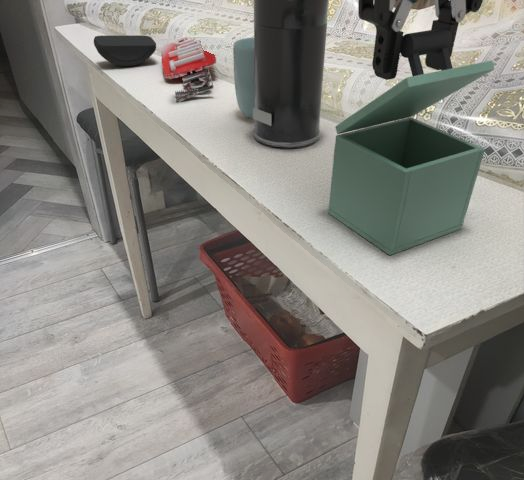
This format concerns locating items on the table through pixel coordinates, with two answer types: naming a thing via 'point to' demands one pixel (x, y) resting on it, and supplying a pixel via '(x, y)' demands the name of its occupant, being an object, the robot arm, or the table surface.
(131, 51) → the computer mouse
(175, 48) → the logo
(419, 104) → the green square slab
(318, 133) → the robot arm
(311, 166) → the table surface
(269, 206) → the table surface
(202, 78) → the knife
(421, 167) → the green storage box
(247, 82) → the cup
